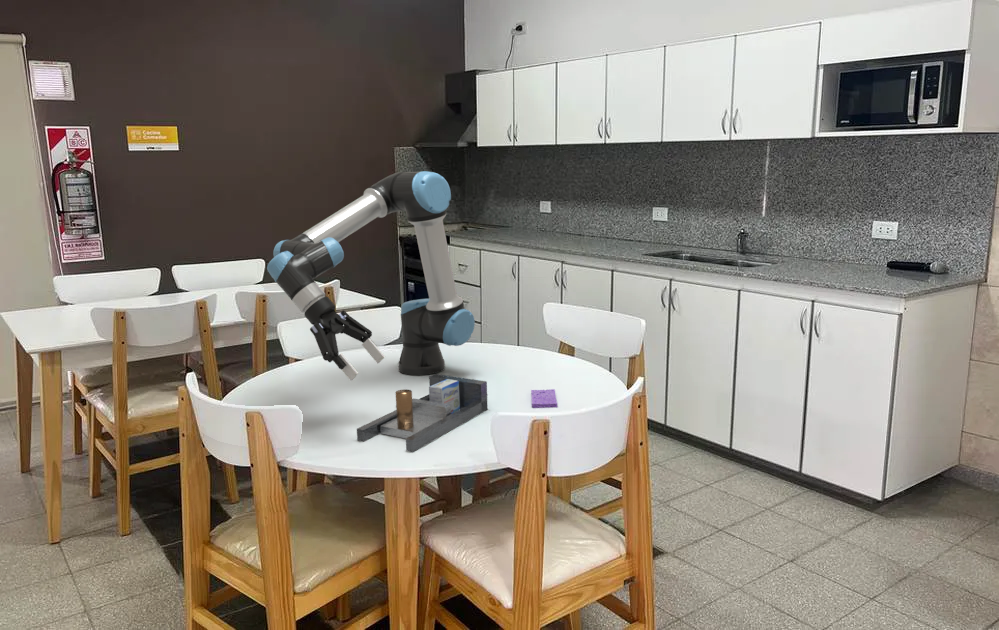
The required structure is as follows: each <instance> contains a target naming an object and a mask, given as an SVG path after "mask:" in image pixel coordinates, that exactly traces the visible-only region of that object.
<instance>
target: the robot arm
mask: <svg viewBox="0 0 999 630" xmlns="http://www.w3.org/2000/svg"><path fill="white" fill-rule="evenodd" d="M451 193H452V192H451V188H450V185H449V183H448V181H447V180H446V179H445V177H444V176H442V175H441V174H439V173H436V172H433V171H426V170H423V171H422V170H421V171H399V172H398V171H397V172H395V173H393V174H392V173H391V174H390V175H388V176H386V177H384V178H383V179H381V180H379V181H377V182H376V183H373V185H371V186H368V188H366V189H365V190H364V191H363V194H362V195H361V196H360V197H358V198H357V199H355V200H354V201H351V202H350V203H349V204H347V205H346V206H343V207H342V208H341V209H339V210H338V211H336V212H334V213H333V214H331V215H330V216H328V217H326V218H324V219H323V220H321V221H320V222H318V223H316V224H315V225H313V226H312V227H310V228H309V229H307V230H305V231H304V232H303V233H301V234H299V235H297V236H296V237H294V238H292V239H284V240H281V241H278V242H277V243H276V244H275V246H274V249H273V253H272V254H273V258H272V259H271V260H270V261H269V262H268V263H267V267H266V269H267V272H268V273H269V275H270V276H271V278H272V279H273V280H274V282H275V283H276V284H277V285H278V286H279V287H280V288H281V289H282V290H283V292H284V293H285V295H286V296H288V298H289V299H290V300H291V301H292V302H293V303H294V305H295V306H296V307H297V309H298V310H299V311H300V312H301V313H304V317H305V318H306V320H308V322H309V323H310V324H311V325H312V326H311V327H310V328H309V330H310V332H311V334H312V335H313V336H314V338H315V342H316V343H317V346H318V349H319V351H320V354H321V356H322V358H323V360H324V361H326V362H328V363H332V362H334V363H335V365H336V366H337V367H338V369H340V370H341V371H342V372H343V374H344V375H345V376H346V377H347V378H348V379H349V380H350V381H352V380H353V379H354V378H356V377H357V375H359V372H358V371H357V369H356V368H355V367H354V366H353V365H352V363H351V362H350V361H349V359H348V358H347V357H346V356H345V355H344V354H343V353H339V348H338V342H337V337H336V335H339V334H340V335H341V334H344V335H346V336H349V337H351V338H352V339H353V340H354V339H355V340H356V341H358V342H360V343H362V344H361V346H362V347H363V348H364V349H365V350H366V352H367V353H368V354H369V356H370V357H371V358H373V360H374V361H375V362H376V363H377V364H380V362H381V361H382V360H384V359H385V358H386V356H385V354H384V353H383V352H382V351H381V350H380V349H379V347H378V346H377V344H375V342H374V341H373V340H372V339H371V337H372V336H373V332H372V330H370V329H369V328H367V327H366V326H364V325H363V324H362V323H360V322H359V321H357V320H356V319H355V318H353V317H352V316H350V315H349V314H348V312H347V311H346V310H342V311H340V312H339V313H337V312H336V305H335V304H334V302H333V301H332V300H331V298H329V296H326V293H325V292H324V290H323V289H322V288H321V287H320V286H319V285H318V284H317V283H316V280H314V279H316V278H318V277H319V276H321V275H322V274H324V273H326V272H328V271H330V270H332V269H333V268H336V266H337V265H338V264H340V263H341V262H342V261H343V260H344V257H345V253H344V250H343V248H342V246H341V244H340V242H341V241H343V240H345V238H347V237H348V236H350V235H352V234H353V233H355V232H357V231H358V230H360V229H361V228H363V227H364V226H366V225H367V224H370V222H372V221H374V220H375V219H377V218H381V219H382V218H384V217H386V216H387V215H390V214H391V213H397V212H405V214H406V217H407V222H408V223H409V224H411V225H413V227H414V232H415V237H416V239H417V240H416V241H417V245H418V250H419V255H420V261H421V265H422V269H423V274H424V280H425V285H426V289H427V294H428V298H420V299H413V300H409V301H405V302H403V303H402V304H401V307H400V323H401V336H402V349H401V354H400V358H399V360H398V372H399V373H401V374H404V375H410V376H425V375H434V374H438V373H440V372H442V371H444V370H445V368H446V364H445V359H444V356H443V354H442V351H441V348H440V344H443V345H446V346H452V347H453V346H454V347H459V346H462V345H464V344H466V343H467V342H468V341H469V340H470V338H471V337H472V334H473V332H474V329H475V325H476V323H475V322H476V321H475V316H474V314H473V313H472V311H470V310H469V309H466V308H465V304H464V299H463V298H462V297H461V296H459V295H458V293H457V289H456V283H455V278H454V273H453V267H452V264H451V263H452V262H451V257H450V252H449V247H448V243H447V236H446V231H445V226H444V219H445V217H446V215H447V209H448V207H449V206H450V201H451V199H452V194H451Z"/></svg>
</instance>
